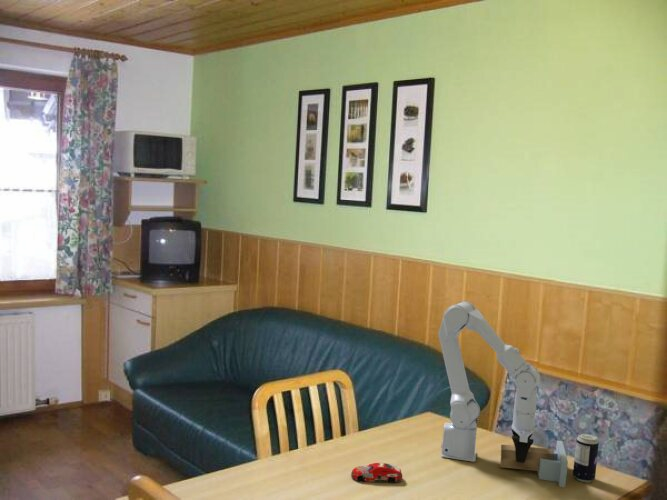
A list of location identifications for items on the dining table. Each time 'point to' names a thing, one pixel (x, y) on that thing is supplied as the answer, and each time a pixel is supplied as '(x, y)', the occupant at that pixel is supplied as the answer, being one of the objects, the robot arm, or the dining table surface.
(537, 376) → the robot arm
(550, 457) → the brown wooden block
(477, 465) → the dining table surface
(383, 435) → the dining table surface
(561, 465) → the pale blue bench
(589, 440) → the beverage can
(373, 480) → the race car
